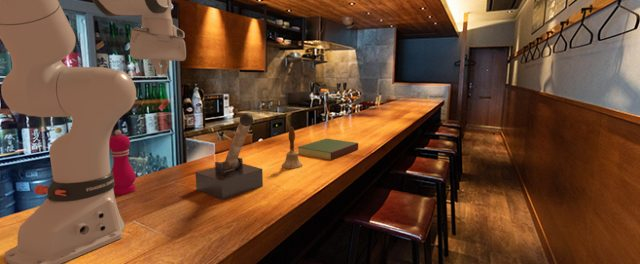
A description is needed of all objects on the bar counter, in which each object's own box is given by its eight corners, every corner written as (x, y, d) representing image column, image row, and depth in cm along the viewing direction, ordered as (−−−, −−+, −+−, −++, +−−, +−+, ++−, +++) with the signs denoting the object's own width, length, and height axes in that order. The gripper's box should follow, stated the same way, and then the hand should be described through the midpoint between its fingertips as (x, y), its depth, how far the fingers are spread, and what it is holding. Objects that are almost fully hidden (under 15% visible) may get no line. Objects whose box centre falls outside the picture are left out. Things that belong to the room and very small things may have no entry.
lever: (216, 166, 111) (236, 111, 101) (231, 162, 116) (252, 109, 105) (223, 174, 109) (244, 119, 99) (238, 170, 114) (260, 117, 103)
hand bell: (305, 167, 137) (305, 128, 134) (285, 169, 134) (284, 129, 131) (298, 162, 144) (298, 124, 142) (279, 164, 141) (278, 126, 139)
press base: (196, 189, 111) (194, 161, 109) (236, 177, 124) (235, 152, 122) (222, 199, 103) (221, 169, 101) (262, 186, 115) (262, 158, 113)
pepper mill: (125, 196, 105) (118, 132, 102) (105, 194, 107) (98, 131, 103) (142, 188, 112) (136, 128, 108) (123, 186, 114) (116, 127, 110)
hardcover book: (331, 160, 149) (331, 152, 148) (297, 154, 159) (297, 146, 158) (358, 150, 169) (359, 142, 168) (327, 145, 179) (327, 138, 179)
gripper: (139, 25, 97) (143, 74, 100) (188, 33, 116) (190, 74, 119) (122, 26, 99) (126, 74, 102) (173, 33, 118) (176, 74, 121)
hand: (161, 74), depth 110 cm, fingers closed
